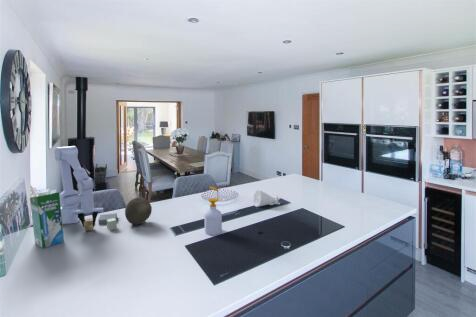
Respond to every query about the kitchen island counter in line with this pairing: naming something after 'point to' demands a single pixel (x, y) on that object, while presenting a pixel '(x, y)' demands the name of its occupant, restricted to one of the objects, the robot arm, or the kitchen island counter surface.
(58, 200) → the milk carton
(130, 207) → the cantaloupe
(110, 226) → the sage block
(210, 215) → the soap bottle
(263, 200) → the rocket engine
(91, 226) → the oak block
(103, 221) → the slate base
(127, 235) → the kitchen island counter surface
